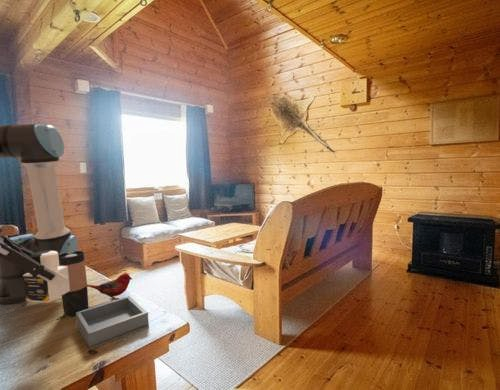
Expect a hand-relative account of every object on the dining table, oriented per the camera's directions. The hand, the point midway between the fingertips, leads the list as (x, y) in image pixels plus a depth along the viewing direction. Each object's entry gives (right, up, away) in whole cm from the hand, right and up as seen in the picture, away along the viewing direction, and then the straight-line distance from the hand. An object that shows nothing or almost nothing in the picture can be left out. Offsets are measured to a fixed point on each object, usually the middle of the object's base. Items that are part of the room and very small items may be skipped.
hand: (60, 277), depth 81 cm
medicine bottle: (-2, -5, -2) cm, 5 cm away
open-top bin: (+10, -18, +10) cm, 22 cm away
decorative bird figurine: (0, -16, +28) cm, 32 cm away
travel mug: (-7, -17, +20) cm, 27 cm away
